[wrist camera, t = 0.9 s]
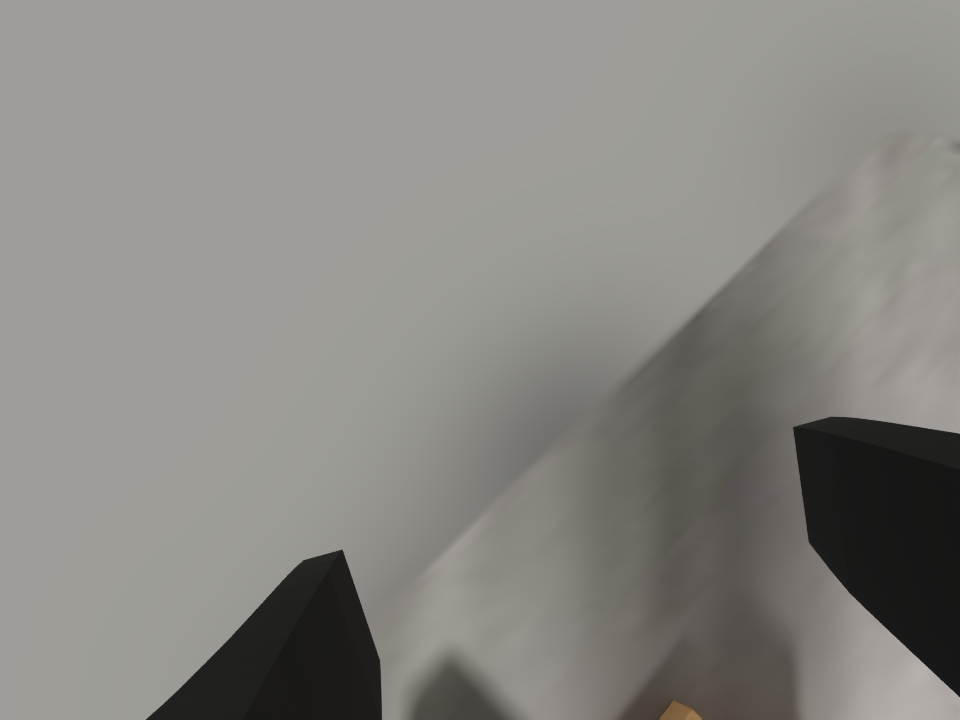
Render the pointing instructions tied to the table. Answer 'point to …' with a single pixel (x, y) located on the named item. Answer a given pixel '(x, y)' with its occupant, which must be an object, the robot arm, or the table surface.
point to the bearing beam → (679, 712)
